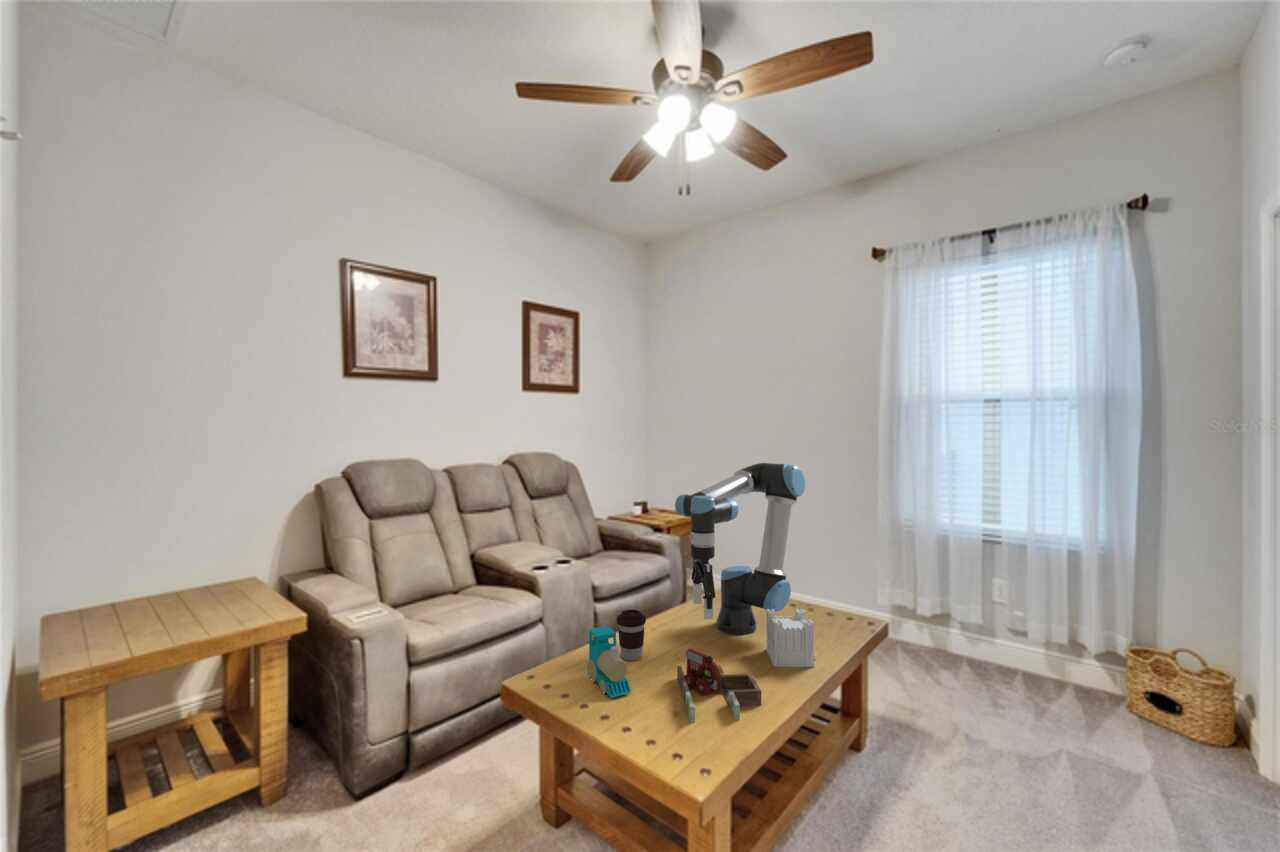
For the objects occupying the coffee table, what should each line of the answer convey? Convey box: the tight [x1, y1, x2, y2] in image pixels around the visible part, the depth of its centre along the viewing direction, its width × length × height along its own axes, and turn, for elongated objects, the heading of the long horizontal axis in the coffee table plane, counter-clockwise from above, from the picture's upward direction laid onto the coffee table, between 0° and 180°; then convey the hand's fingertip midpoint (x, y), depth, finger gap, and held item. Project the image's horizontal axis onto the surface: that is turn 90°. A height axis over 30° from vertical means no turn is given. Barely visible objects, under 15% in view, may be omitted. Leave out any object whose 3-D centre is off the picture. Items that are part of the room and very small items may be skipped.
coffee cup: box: [616, 609, 647, 662], centre depth 184 cm, size 10×10×15 cm
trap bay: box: [721, 673, 762, 707], centre depth 158 cm, size 10×9×4 cm
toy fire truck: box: [684, 647, 721, 696], centre depth 163 cm, size 7×12×10 cm, turn 44°
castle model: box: [765, 608, 817, 668], centre depth 182 cm, size 13×15×14 cm
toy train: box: [587, 625, 632, 699], centre depth 164 cm, size 8×17×15 cm, turn 27°
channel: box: [676, 663, 741, 723], centre depth 157 cm, size 24×13×4 cm, turn 4°
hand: (702, 610), depth 174 cm, fingers open, 13 cm apart
